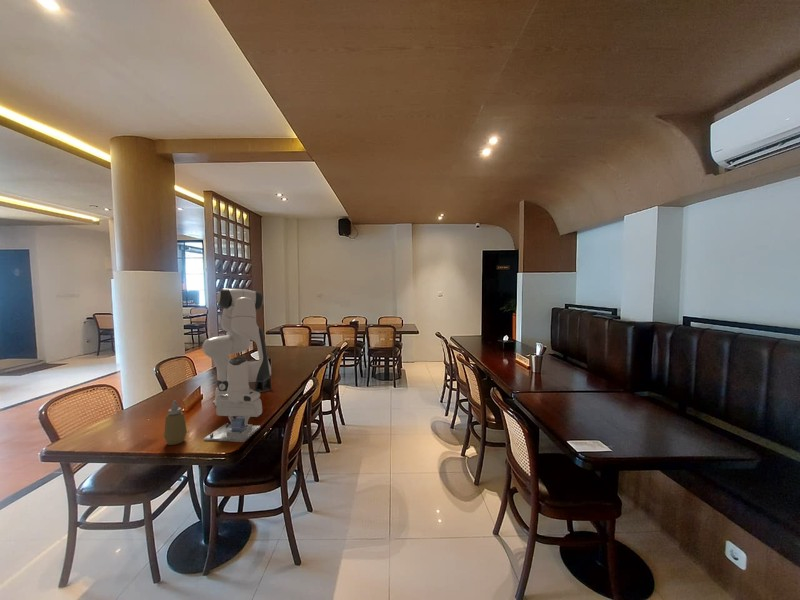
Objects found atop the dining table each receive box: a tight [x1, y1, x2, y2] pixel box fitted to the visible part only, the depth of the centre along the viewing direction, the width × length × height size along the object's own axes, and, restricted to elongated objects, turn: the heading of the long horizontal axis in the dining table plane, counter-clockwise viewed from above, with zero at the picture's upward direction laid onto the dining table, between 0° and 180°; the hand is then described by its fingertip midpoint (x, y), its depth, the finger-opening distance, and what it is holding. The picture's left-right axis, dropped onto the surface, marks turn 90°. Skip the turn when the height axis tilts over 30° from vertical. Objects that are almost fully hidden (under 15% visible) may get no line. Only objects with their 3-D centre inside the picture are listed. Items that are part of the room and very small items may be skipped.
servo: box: [230, 416, 247, 431], centre depth 148 cm, size 8×4×4 cm, turn 175°
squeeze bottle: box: [163, 400, 188, 446], centre depth 141 cm, size 8×8×18 cm
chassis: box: [203, 422, 261, 443], centre depth 149 cm, size 14×18×3 cm
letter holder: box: [248, 376, 272, 394], centre depth 215 cm, size 10×20×14 cm, turn 35°
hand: (239, 425), depth 148 cm, fingers closed on servo, 4 cm apart
